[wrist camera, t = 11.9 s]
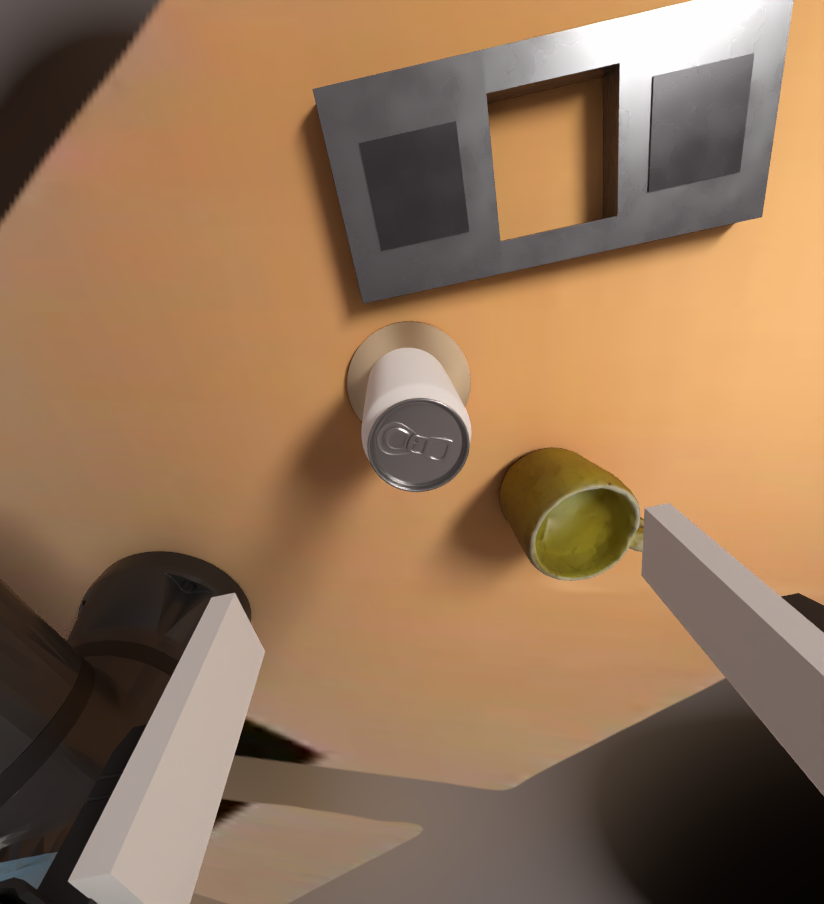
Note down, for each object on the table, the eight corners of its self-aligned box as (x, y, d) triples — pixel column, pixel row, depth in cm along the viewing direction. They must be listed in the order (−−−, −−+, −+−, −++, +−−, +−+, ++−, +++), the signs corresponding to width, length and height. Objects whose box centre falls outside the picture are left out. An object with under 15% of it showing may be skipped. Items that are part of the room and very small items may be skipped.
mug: (462, 528, 38) (532, 582, 29) (507, 425, 37) (592, 447, 28) (556, 558, 43) (639, 612, 34) (596, 467, 42) (692, 498, 33)
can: (378, 336, 32) (374, 376, 21) (458, 358, 33) (494, 407, 22) (359, 413, 34) (347, 485, 23) (434, 431, 35) (456, 508, 24)
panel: (364, 301, 31) (363, 303, 29) (317, 101, 26) (312, 88, 24) (739, 219, 30) (763, 216, 28) (767, -3, 25) (798, -25, 23)
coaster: (364, 451, 36) (364, 453, 36) (332, 336, 32) (332, 337, 31) (477, 428, 36) (478, 429, 35) (460, 309, 32) (461, 309, 31)
